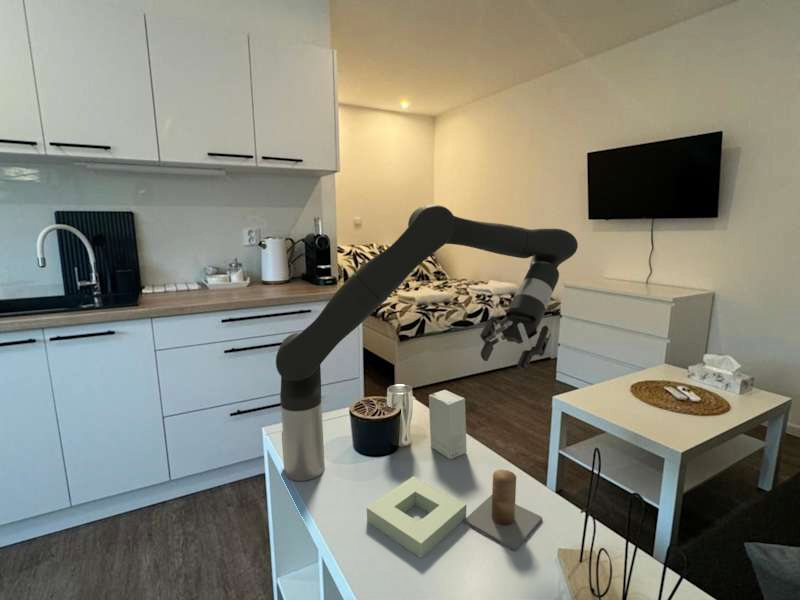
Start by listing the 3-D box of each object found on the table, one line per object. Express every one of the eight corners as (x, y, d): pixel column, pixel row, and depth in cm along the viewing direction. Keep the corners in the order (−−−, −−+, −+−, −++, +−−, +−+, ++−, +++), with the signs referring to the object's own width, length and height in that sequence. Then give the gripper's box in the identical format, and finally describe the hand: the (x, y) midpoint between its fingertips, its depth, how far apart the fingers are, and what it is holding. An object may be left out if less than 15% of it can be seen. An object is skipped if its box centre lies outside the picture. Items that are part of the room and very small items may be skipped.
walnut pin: (487, 518, 83) (488, 476, 81) (498, 507, 86) (500, 467, 84) (507, 528, 80) (509, 485, 78) (518, 517, 83) (520, 475, 81)
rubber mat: (464, 522, 83) (464, 519, 82) (493, 495, 90) (493, 493, 90) (515, 551, 75) (515, 548, 75) (542, 519, 83) (542, 516, 83)
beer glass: (383, 445, 111) (382, 392, 109) (393, 433, 118) (392, 382, 115) (408, 450, 109) (407, 395, 106) (416, 437, 115) (416, 385, 113)
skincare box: (466, 453, 107) (467, 398, 104) (448, 461, 104) (449, 404, 101) (445, 439, 114) (446, 388, 111) (428, 446, 111) (428, 393, 108)
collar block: (367, 521, 83) (366, 507, 83) (413, 488, 93) (413, 476, 93) (421, 558, 74) (421, 543, 73) (466, 517, 84) (466, 504, 83)
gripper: (496, 289, 97) (466, 347, 91) (556, 297, 87) (527, 362, 81) (506, 308, 102) (478, 364, 96) (565, 318, 92) (538, 381, 86)
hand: (501, 363), depth 88 cm, fingers open, 8 cm apart
